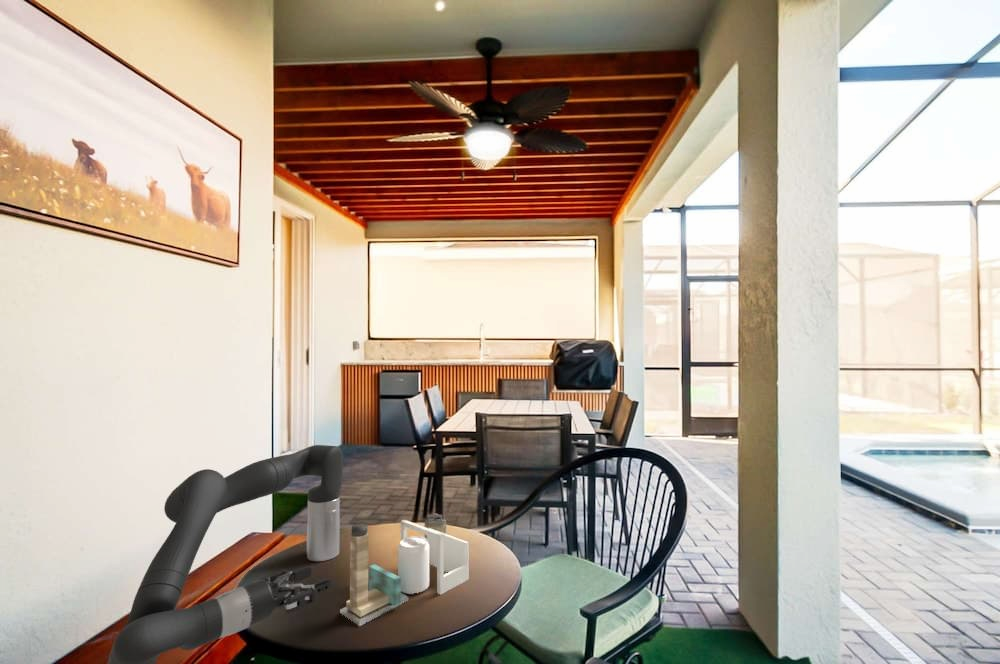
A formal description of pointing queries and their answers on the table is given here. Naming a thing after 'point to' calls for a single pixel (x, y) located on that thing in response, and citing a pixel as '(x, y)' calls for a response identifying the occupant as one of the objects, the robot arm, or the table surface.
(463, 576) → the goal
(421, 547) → the beverage can
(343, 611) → the white flat board
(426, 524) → the lighter
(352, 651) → the table surface
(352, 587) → the kicker rod
